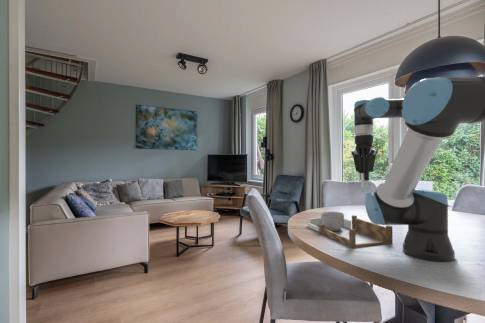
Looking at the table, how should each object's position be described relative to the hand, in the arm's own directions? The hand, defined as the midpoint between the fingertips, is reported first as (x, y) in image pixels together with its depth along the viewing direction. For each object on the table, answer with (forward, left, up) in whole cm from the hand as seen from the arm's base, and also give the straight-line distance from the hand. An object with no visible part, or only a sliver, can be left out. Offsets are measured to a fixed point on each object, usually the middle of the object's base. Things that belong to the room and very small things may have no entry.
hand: (364, 187), depth 113 cm
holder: (+18, +6, -22) cm, 29 cm away
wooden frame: (0, +6, -22) cm, 23 cm away
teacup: (+15, +6, -22) cm, 28 cm away
